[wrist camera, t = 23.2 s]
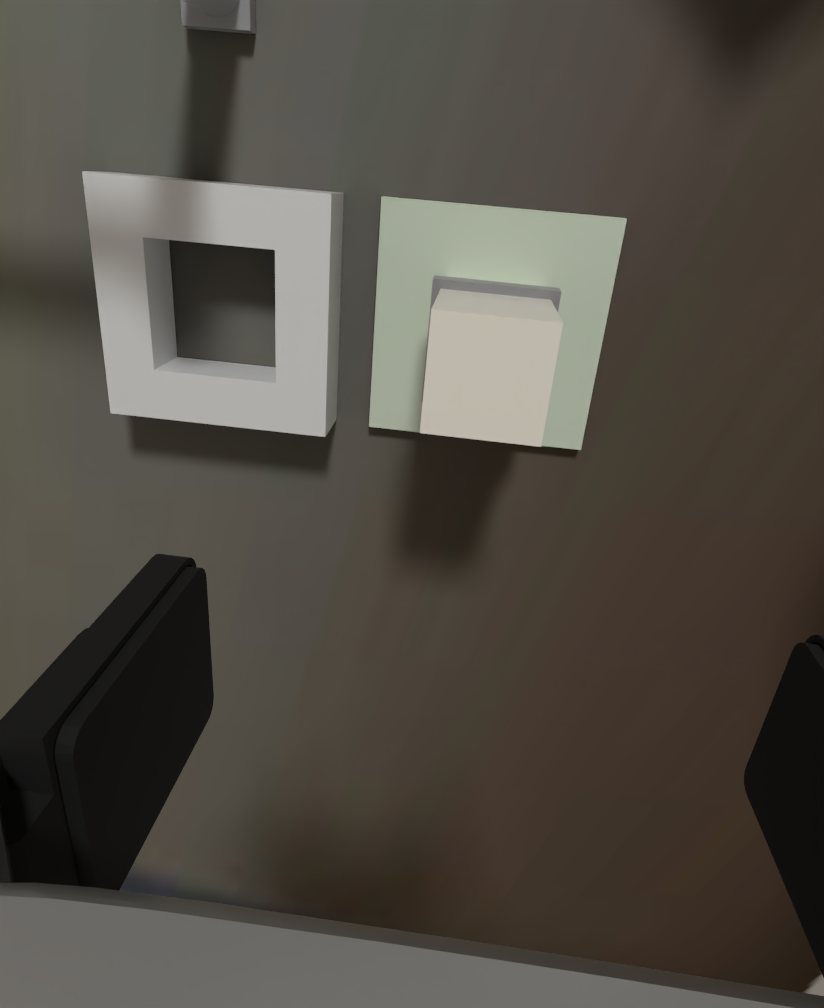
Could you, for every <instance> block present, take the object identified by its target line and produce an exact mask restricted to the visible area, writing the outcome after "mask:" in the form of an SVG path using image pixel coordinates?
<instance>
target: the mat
mask: <svg viewBox="0 0 824 1008" xmlns="http://www.w3.org/2000/svg"><path fill="white" fill-rule="evenodd" d="M626 221H627V219H626V218H618V217H607V216H596V215H585V214H574V213H563V212H552V211H541V210H529V209H518V208H507V207H496V206H485V205H474V204H463V203H451V202H440V201H429V200H418V199H407V198H396V197H385V196H382V197H381V214H380V233H379V251H378V269H377V288H376V306H375V325H374V343H373V361H372V380H371V398H370V417H369V427H375V428H385V429H394V430H403V431H412V432H420V424H421V413H422V403H423V402H421V401H422V390H423V379H424V369H425V358H426V347H427V336H428V326H429V315H430V304H431V293H432V283H433V278H434V276H435V275H437V276H447V277H457V278H466V279H476V280H486V281H496V282H506V283H516V284H526V285H535V286H545V287H555V288H560V290H561V291H562V292H561V298H560V304H559V309H558V314H559V316H560V318H561V320H562V322H563V327H562V333H561V338H560V344H559V349H558V355H557V361H556V366H555V372H554V378H553V383H552V389H551V394H550V400H549V406H548V411H547V417H546V423H545V428H544V434H543V439H542V445H541V446H548V447H557V448H566V449H575V450H581V446H582V441H583V436H584V431H585V426H586V421H587V416H588V411H589V406H590V401H591V396H592V391H593V386H594V381H595V376H596V371H597V366H598V361H599V356H600V351H601V346H602V341H603V336H604V331H605V326H606V321H607V316H608V311H609V306H610V301H611V296H612V291H613V286H614V281H615V276H616V271H617V266H618V261H619V256H620V251H621V246H622V241H623V236H624V231H625V226H626Z"/></svg>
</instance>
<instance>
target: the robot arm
mask: <svg viewBox="0 0 824 1008" xmlns="http://www.w3.org/2000/svg"><path fill="white" fill-rule="evenodd" d="M212 706H213V679H212V662H211V646H210V630H209V613H208V597H207V581H206V573H205V570H204V569H203V568H197V567H196V563H195V561H194V560H193V559H192V558H188V557H180V556H172V555H164V554H156V555H155V556H153V557H152V558H151V559H150V560H149V562H148V563H147V564H146V565H145V566H144V567H143V568H142V569H141V570H140V572H139V573H138V574H137V575H136V576H135V577H134V578H133V579H132V580H131V582H130V583H129V584H128V585H127V586H126V587H125V588H124V589H123V590H122V592H121V593H120V594H119V595H118V596H117V597H116V598H115V599H114V600H113V602H112V603H111V604H110V605H109V606H108V607H107V608H106V609H105V610H104V612H103V613H102V614H101V615H100V616H99V617H98V618H97V619H96V620H95V622H94V623H93V624H92V625H91V626H90V627H89V628H87V629H85V630H83V631H82V632H81V633H80V634H79V635H78V636H77V637H76V638H75V639H74V640H73V641H72V642H71V643H70V644H69V645H68V647H67V648H66V649H65V650H64V651H63V652H62V653H61V654H60V655H59V656H58V658H57V659H56V660H55V661H54V662H53V663H52V664H51V665H50V666H49V667H48V669H47V670H46V671H45V672H44V673H43V674H42V675H41V676H40V677H39V678H38V680H37V681H36V682H35V683H34V684H33V685H32V686H31V687H30V688H29V689H28V690H27V692H26V693H25V694H24V695H23V696H22V697H21V698H20V699H19V700H18V701H17V703H16V704H15V705H14V706H13V707H12V708H11V709H10V710H9V711H8V712H7V714H6V715H5V716H4V717H3V718H2V719H1V720H0V1008H824V996H818V995H812V994H806V993H799V992H793V991H787V990H781V989H774V988H768V987H762V986H755V985H749V984H743V983H737V982H730V981H724V980H718V979H711V978H705V977H699V976H693V975H686V974H680V973H674V972H667V971H661V970H655V969H649V968H642V967H636V966H630V965H623V964H617V963H610V962H604V961H597V960H591V959H584V958H578V957H571V956H565V955H558V954H552V953H545V952H539V951H532V950H526V949H519V948H513V947H506V946H500V945H493V944H487V943H480V942H473V941H467V940H460V939H454V938H447V937H441V936H434V935H428V934H421V933H414V932H408V931H401V930H394V929H388V928H381V927H374V926H367V925H361V924H354V923H347V922H340V921H333V920H327V919H320V918H313V917H306V916H300V915H293V914H286V913H279V912H272V911H266V910H259V909H252V908H245V907H239V906H232V905H225V904H218V903H211V902H203V901H196V900H188V899H180V898H172V897H165V896H157V895H149V894H141V893H134V892H126V891H119V890H120V888H121V886H122V884H123V882H124V880H125V878H126V876H127V874H128V872H129V870H130V869H131V867H132V865H133V863H134V861H135V859H136V857H137V855H138V853H139V851H140V849H141V848H142V846H143V844H144V842H145V840H146V838H147V836H148V834H149V832H150V830H151V828H152V827H153V825H154V823H155V821H156V819H157V817H158V815H159V813H160V811H161V809H162V807H163V806H164V804H165V802H166V800H167V798H168V796H169V794H170V792H171V790H172V788H173V786H174V785H175V783H176V781H177V779H178V777H179V775H180V773H181V771H182V769H183V767H184V765H185V764H186V762H187V760H188V758H189V756H190V754H191V752H192V750H193V748H194V746H195V744H196V743H197V741H198V739H199V737H200V735H201V733H202V731H203V729H204V727H205V725H206V723H207V721H208V719H209V717H210V714H211V711H212ZM744 785H745V790H746V793H747V796H748V799H749V801H750V803H751V806H752V808H753V810H754V813H755V815H756V818H757V820H758V822H759V825H760V827H761V829H762V832H763V834H764V837H765V839H766V841H767V844H768V846H769V848H770V851H771V853H772V856H773V858H774V860H775V863H776V865H777V868H778V870H779V872H780V875H781V877H782V879H783V882H784V884H785V887H786V889H787V891H788V894H789V896H790V898H791V901H792V903H793V906H794V908H795V910H796V913H797V915H798V917H799V920H800V922H801V925H802V927H803V929H804V932H805V934H806V936H807V939H808V941H809V944H810V946H811V948H812V951H813V953H814V955H815V958H816V960H817V963H818V965H819V967H820V970H821V972H822V974H823V977H824V636H821V635H813V636H810V637H809V638H808V639H807V640H806V642H805V643H798V644H797V645H796V646H795V647H794V649H793V651H792V653H791V656H790V658H789V661H788V663H787V666H786V668H785V671H784V673H783V676H782V678H781V681H780V683H779V686H778V688H777V691H776V693H775V696H774V698H773V701H772V703H771V706H770V708H769V711H768V713H767V716H766V718H765V721H764V723H763V726H762V728H761V731H760V733H759V736H758V738H757V741H756V743H755V746H754V748H753V751H752V753H751V756H750V758H749V761H748V763H747V766H746V769H745V774H744Z"/></svg>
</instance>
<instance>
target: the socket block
mask: <svg viewBox="0 0 824 1008" xmlns="http://www.w3.org/2000/svg"><path fill="white" fill-rule="evenodd" d="M181 14H182V26H184V27H186V28H188V29H196V30H209V31H222V32H235V33H248V34H256V19H255V0H181ZM82 174H83V183H84V191H85V200H86V208H87V217H88V225H89V234H90V242H91V251H92V259H93V268H94V276H95V284H96V293H97V301H98V310H99V318H100V327H101V335H102V344H103V352H104V361H105V369H106V378H107V386H108V395H109V403H110V412H111V413H113V414H122V415H131V416H140V417H149V418H158V419H167V420H176V421H185V422H194V423H203V424H212V425H221V426H230V427H239V428H248V429H257V430H266V431H275V432H284V433H293V434H302V435H311V436H320V437H326V435H327V434H328V432H329V431H330V429H331V427H332V426H333V424H334V423H335V421H336V420H337V389H338V358H339V328H340V297H341V266H342V235H343V204H344V193H340V192H329V191H318V190H307V189H296V188H285V187H273V186H262V185H251V184H240V183H229V182H218V181H207V180H195V179H184V178H173V177H162V176H151V175H140V174H129V173H118V172H91V171H82ZM169 240H176V241H186V242H197V243H207V244H218V245H228V246H239V247H249V248H260V249H270V250H275V332H276V367H267V366H257V365H248V364H238V363H229V362H220V361H210V360H201V359H191V358H182V357H177V344H176V330H175V316H174V302H173V288H172V274H171V260H170V246H169Z"/></svg>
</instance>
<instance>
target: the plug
mask: <svg viewBox="0 0 824 1008" xmlns="http://www.w3.org/2000/svg"><path fill="white" fill-rule="evenodd" d="M561 292H562V291H561V290H560V288H555V287H545V286H535V285H526V284H516V283H506V282H496V281H486V280H476V279H466V278H457V277H447V276H437V275H435V276H434V278H433V283H432V293H431V304H430V315H429V326H428V336H427V347H426V358H425V369H424V379H423V390H422V401H421V402H423V403H422V413H421V424H420V433H424V434H432V435H441V436H450V437H458V438H467V439H476V440H485V441H493V442H502V443H511V444H519V445H528V446H537V447H541V445H542V439H543V434H544V428H545V423H546V417H547V411H548V406H549V400H550V394H551V389H552V383H553V378H554V372H555V366H556V361H557V355H558V349H559V344H560V338H561V333H562V327H563V322H562V320H561V318H560V316H559V314H558V309H559V304H560V298H561Z"/></svg>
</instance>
